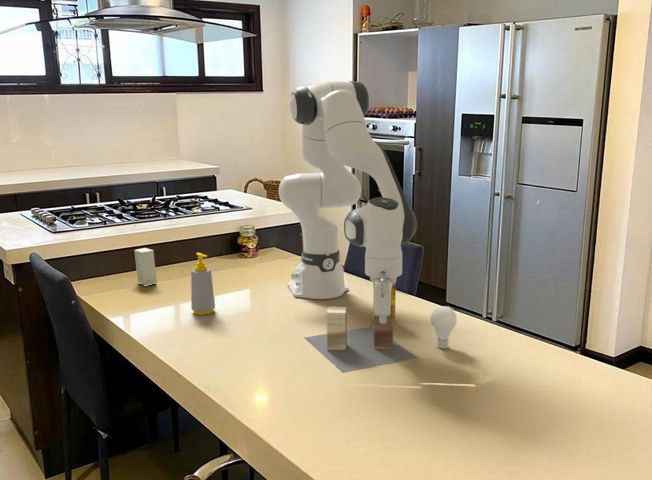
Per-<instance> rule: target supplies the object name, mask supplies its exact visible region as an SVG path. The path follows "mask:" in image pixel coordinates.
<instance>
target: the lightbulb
mask: <svg viewBox="0 0 652 480" xmlns="http://www.w3.org/2000/svg"><path fill="white" fill-rule="evenodd" d="M457 321H458V318H457V314H456V312H455V311H454V310H453V308H451V307H449V306H446V305H443V306H437V307H436V308H434V309H433V311H432V313H431V314H430V323H431V326H432V327H433V329H434V330H435V333H436V337H437V347H438V348H439V349H442V350H445V349H448V348H449V338H450V337H451V333H452V330H454V329H455V327H456V325H457Z"/></svg>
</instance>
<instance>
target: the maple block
mask: <svg viewBox="0 0 652 480" xmlns="http://www.w3.org/2000/svg"><path fill="white" fill-rule="evenodd" d="M347 310H348V307H347V306H328V308H327V311H326V334H327V351H345V352H346V347H347V330H348V329H347V328H348V327H347V325H348V322H347V321H348V320H347V319H348V311H347Z"/></svg>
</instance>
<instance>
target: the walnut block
mask: <svg viewBox="0 0 652 480" xmlns="http://www.w3.org/2000/svg"><path fill="white" fill-rule="evenodd" d="M373 322H374V349H386V350H393V341H394V340H393V339H394V338H393V337H394V336H393V335H394V334H393V333H394V327H393V326H394V322H393V305H391V309H390V316H387V322H386V323H385V324H381V323H380V322H379V316H375V313H374V320H373Z"/></svg>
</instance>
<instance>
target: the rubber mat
mask: <svg viewBox="0 0 652 480" xmlns="http://www.w3.org/2000/svg"><path fill="white" fill-rule="evenodd" d="M304 339H305V340H306V341H307V342H308V343H309V344H310V345H311V346H312V347H314V349H316V350H317V351H318V352H319V353H320V354H321V355H323V357H324V358H326V359H327V360H328V361H329V362H330V363H331V364H332V365H334V366H335V368H337V369H338V370H339V371H340V372H341V373H342V374H343V373H349V372H354V371H359V370H364V369H368V368H374V367H379V366H384V365H388V364H389V365H390V364H393V363H394V364H395V363H399V362H404V361H409V360H414V359H419V357H418V356H417V355H415V354H414V353H412V352H411V351H409V350H408V349H406V348H404V347H403V346H401V345H400V344H398V342H396V341H394V340H393V350H386V349H374V327H373V326H372V325H370V326H365V327H364V326H363V327H359V328H354V329H353V328H352V329H347V347H346V352H345V351H327V333H324V334H317V335H312V336H306V337H304Z"/></svg>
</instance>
